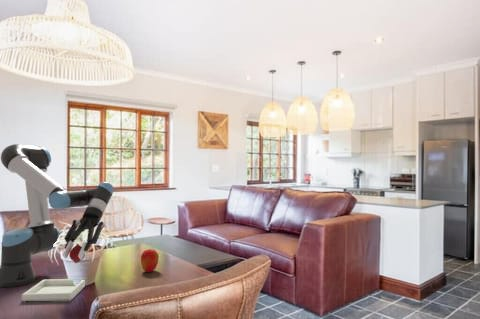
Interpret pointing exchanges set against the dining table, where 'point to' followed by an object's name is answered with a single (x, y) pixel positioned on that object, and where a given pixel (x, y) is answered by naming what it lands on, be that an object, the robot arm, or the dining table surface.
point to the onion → (75, 253)
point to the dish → (53, 290)
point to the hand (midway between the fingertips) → (72, 257)
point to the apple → (149, 260)
